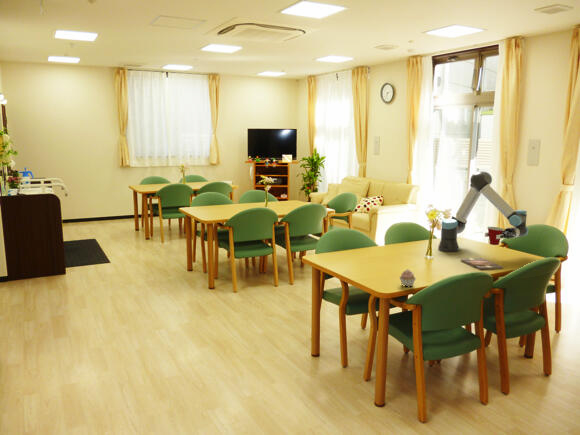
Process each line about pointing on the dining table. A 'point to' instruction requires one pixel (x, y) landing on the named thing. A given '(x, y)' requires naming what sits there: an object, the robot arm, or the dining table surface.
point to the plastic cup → (494, 234)
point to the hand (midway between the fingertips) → (491, 236)
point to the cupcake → (407, 278)
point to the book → (481, 264)
